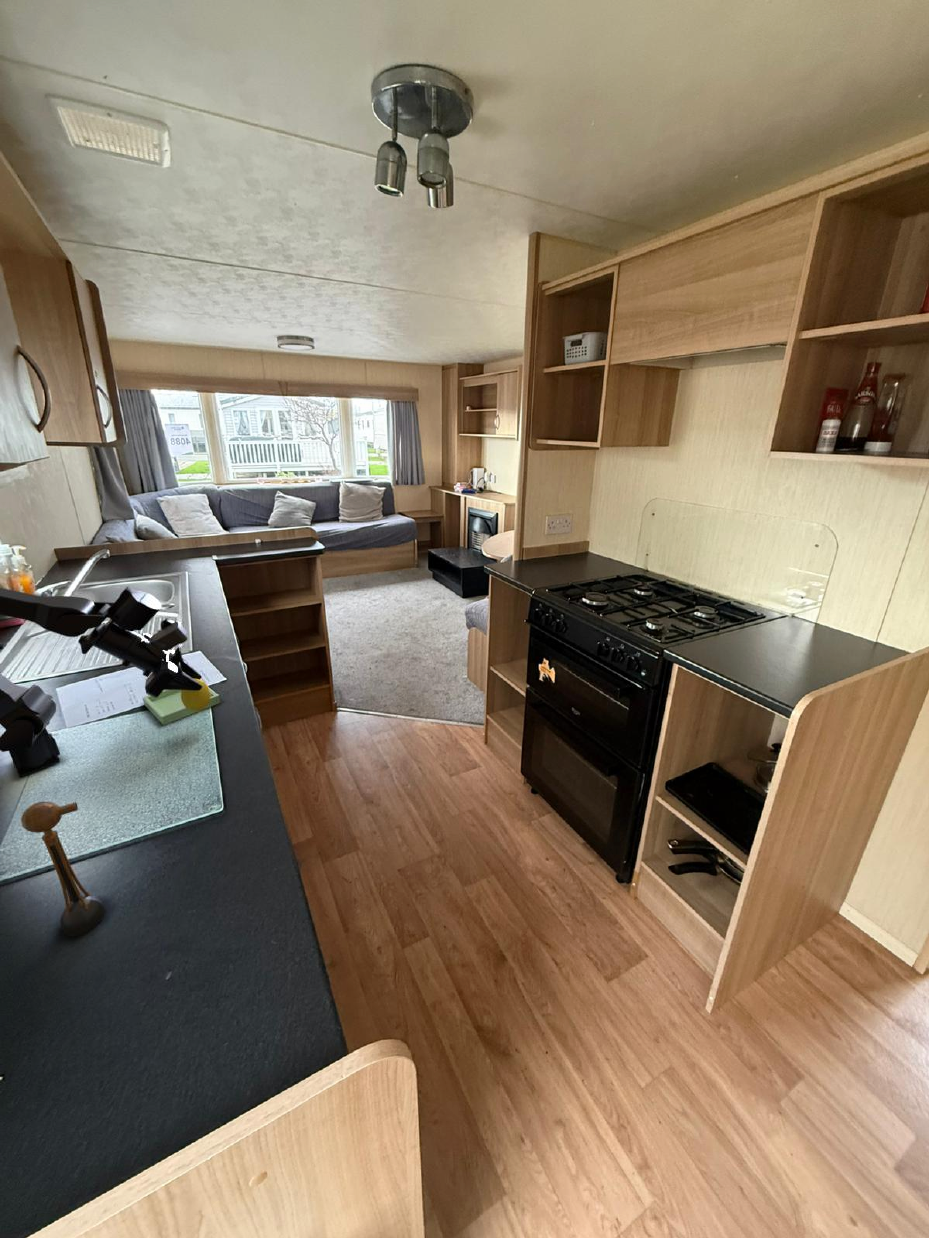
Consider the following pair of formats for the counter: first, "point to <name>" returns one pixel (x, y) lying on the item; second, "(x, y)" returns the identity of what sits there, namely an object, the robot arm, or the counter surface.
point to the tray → (172, 705)
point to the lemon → (196, 697)
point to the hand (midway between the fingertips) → (200, 683)
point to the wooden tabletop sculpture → (64, 868)
